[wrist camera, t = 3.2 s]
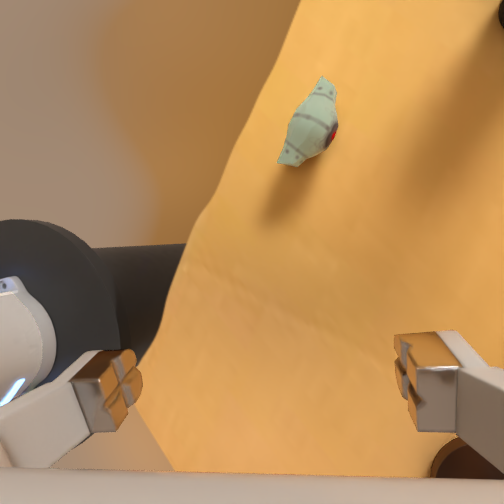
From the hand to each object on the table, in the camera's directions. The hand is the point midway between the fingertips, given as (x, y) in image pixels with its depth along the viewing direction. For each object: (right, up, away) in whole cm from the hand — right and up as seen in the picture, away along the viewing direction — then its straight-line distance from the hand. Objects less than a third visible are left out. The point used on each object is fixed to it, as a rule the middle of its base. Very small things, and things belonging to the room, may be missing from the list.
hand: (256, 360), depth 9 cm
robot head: (+6, +14, +21) cm, 26 cm away
